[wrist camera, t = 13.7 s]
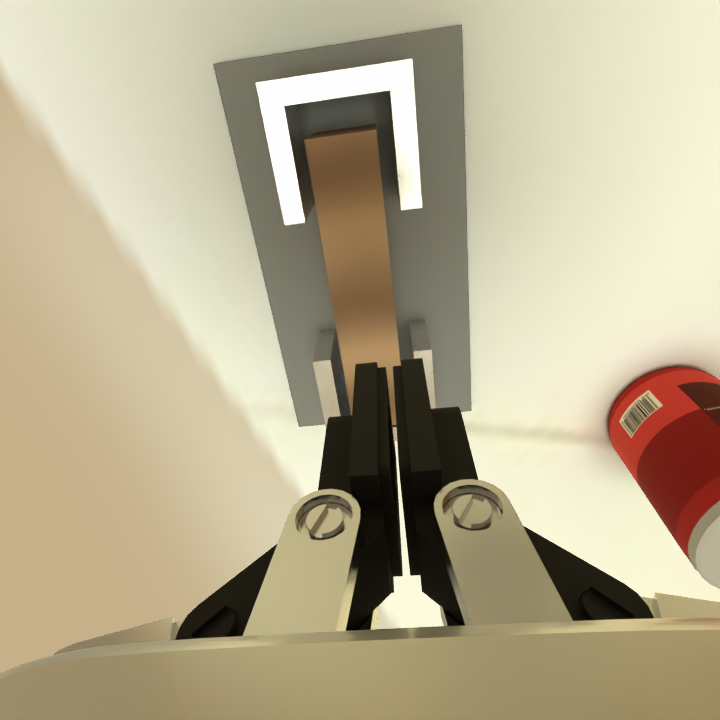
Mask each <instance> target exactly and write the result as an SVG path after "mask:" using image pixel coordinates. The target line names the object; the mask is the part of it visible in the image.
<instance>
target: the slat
mask: <svg viewBox="0 0 720 720" xmlns="http://www.w3.org/2000/svg"><path fill="white" fill-rule="evenodd" d="M305 146H306V152H307V157H308V163H309V169H310V175H311V181H312V187H313V193H314V199H315V205H316V211H317V216H318V222H319V228H320V234H321V240H322V246H323V252H324V258H325V264H326V269H327V275H328V281H329V287H330V293H331V299H332V305H333V311H334V317H335V323H336V328H337V334H338V340H339V346H340V352H341V358H342V364H343V370H344V376H345V381H346V387H347V393H348V399H349V405H350V411H351V415H352V409H353V393H354V378H355V364H360V363H371V362H377V365H378V368H379V367H386V371H387V380H388V389H389V398H390V408H391V417H392V425H396V410H395V394H394V378H393V366H401V363H400V353H399V343H398V334H397V324H396V314H395V305H394V295H393V286H392V276H391V266H390V257H389V247H388V237H387V228H386V218H385V208H384V199H383V189H382V179H381V170H380V160H379V150H378V141H377V131H376V124H372V125H365V126H358V127H351V128H344V129H337V130H330V131H323V132H316V133H313V134H312V135H310V136H309V137H308V138H306V139H305Z"/></svg>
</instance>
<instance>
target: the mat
mask: <svg viewBox="0 0 720 720" xmlns="http://www.w3.org/2000/svg"><path fill="white" fill-rule="evenodd" d="M408 59H412V64H413V79H414V94H415V109H416V124H417V139H418V154H419V168H420V183H421V198H422V208H414V209H407V210H401V209H400V204H399V200H398V196H397V187H396V176H395V165H394V154H393V143H392V132H391V120H390V109H389V98H388V90H387V91H381V92H374V93H367V94H360V95H354V96H347V97H340V98H333V99H327V100H320V101H313V102H307V103H300V104H297V109H298V115H299V121H300V127H301V133H302V139H303V144H304V150H305V156H306V162H307V168H308V174H309V179H310V185H311V191H312V197H313V203H314V206H313V208H312V210H311V212H310V214H309V216H308V218H307V220H306V222H305V223H297V224H289V225H285V224H284V219H283V214H282V209H281V204H280V200H279V195H278V190H277V185H276V180H275V175H274V170H273V165H272V160H271V155H270V150H269V145H268V141H267V136H266V131H265V126H264V121H263V116H262V111H261V106H260V101H259V96H258V91H257V86H256V83H258V82H265V81H271V80H278V79H284V78H291V77H297V76H304V75H310V74H317V73H323V72H330V71H336V70H343V69H349V68H356V67H362V66H369V65H375V64H382V63H388V62H395V61H401V60H408ZM213 65H214V69H215V73H216V78H217V82H218V86H219V90H220V95H221V99H222V103H223V107H224V112H225V116H226V120H227V124H228V128H229V133H230V137H231V141H232V145H233V150H234V154H235V158H236V162H237V167H238V171H239V175H240V179H241V183H242V188H243V192H244V196H245V200H246V205H247V209H248V213H249V217H250V222H251V226H252V230H253V234H254V239H255V243H256V247H257V251H258V255H259V260H260V264H261V268H262V272H263V277H264V281H265V285H266V289H267V294H268V298H269V302H270V306H271V310H272V315H273V319H274V323H275V327H276V332H277V336H278V340H279V344H280V349H281V353H282V357H283V361H284V366H285V370H286V374H287V378H288V382H289V387H290V391H291V395H292V399H293V404H294V408H295V412H296V416H297V421H298V425H299V427H302V426H313V425H324V424H325V421H324V416H323V411H322V406H321V401H320V396H319V391H318V386H317V381H316V376H315V372H314V367H313V358H314V353H315V349H316V344H317V340H318V335H319V331H322V330H331V329H335V331H336V337H337V343H338V349H339V354H340V360H341V366H342V372H343V378H344V384H345V389H346V395H347V396H348V393H347V387H346V381H345V376H344V370H343V364H342V358H341V352H340V346H339V340H338V334H337V328H336V323H335V317H334V311H333V305H332V299H331V293H330V287H329V281H328V275H327V269H326V264H325V258H324V252H323V246H322V240H321V234H320V228H319V222H318V216H317V211H316V205H315V199H314V193H313V187H312V181H311V175H310V169H309V163H308V157H307V152H306V146H305V139H306V138H308V137H309V136H310V135H312V134H313V133H316V132H323V131H330V130H337V129H344V128H351V127H358V126H365V125H372V124H376V131H377V141H378V150H379V160H380V170H381V179H382V189H383V199H384V208H385V218H386V228H387V237H388V247H389V257H390V266H391V276H392V286H393V295H394V305H395V314H396V324H397V334H398V343H399V353H400V363H401V360H404V359H412V353H411V342H410V331H409V321H414V320H423V319H425V322H426V327H427V331H428V336H429V340H430V344H431V349H432V362H433V376H434V391H435V406H436V408H445V407H457V406H458V407H459V408H460V411H461V412H464V411H471V373H470V333H469V292H468V251H467V210H466V170H465V129H464V88H463V47H462V25H457V26H451V27H444V28H438V29H432V30H425V31H419V32H413V33H406V34H400V35H394V36H387V37H381V38H375V39H368V40H362V41H356V42H349V43H343V44H337V45H330V46H324V47H318V48H311V49H305V50H299V51H292V52H286V53H280V54H273V55H267V56H261V57H254V58H248V59H242V60H235V61H229V62H223V63H216V64H213Z"/></svg>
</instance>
